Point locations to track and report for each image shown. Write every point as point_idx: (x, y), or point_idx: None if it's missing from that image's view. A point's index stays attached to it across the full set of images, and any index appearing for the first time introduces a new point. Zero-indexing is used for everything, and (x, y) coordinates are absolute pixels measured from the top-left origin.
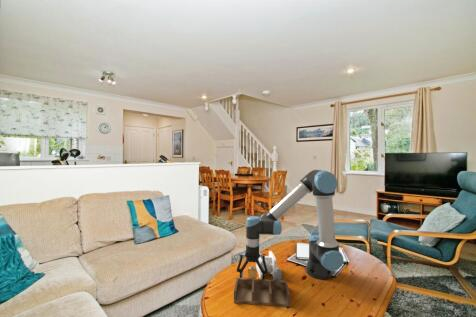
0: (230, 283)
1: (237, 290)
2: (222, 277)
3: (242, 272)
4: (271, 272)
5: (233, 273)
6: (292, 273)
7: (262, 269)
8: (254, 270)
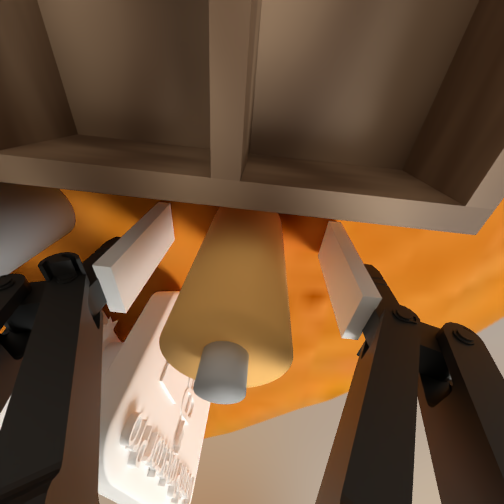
0: (427, 251)
1: (433, 98)
2: (458, 315)
3: (362, 317)
4: (113, 340)
5: (361, 345)
6: (2, 331)
7: (32, 330)
8: (186, 321)
